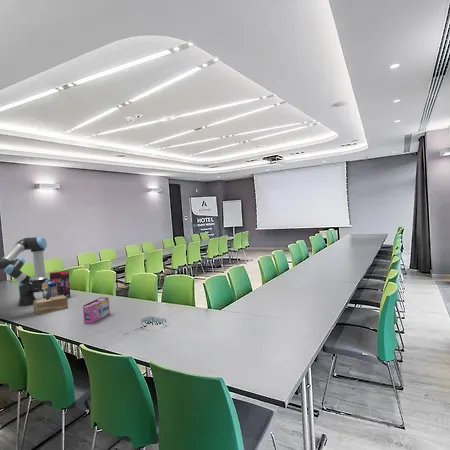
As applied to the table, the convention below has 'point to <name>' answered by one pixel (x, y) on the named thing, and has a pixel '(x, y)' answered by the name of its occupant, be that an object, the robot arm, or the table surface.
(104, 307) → the gum box
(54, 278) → the graphics card box
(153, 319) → the grey bumpy mound
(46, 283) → the beverage box
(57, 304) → the carton
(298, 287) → the table surface
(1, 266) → the robot arm
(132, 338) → the table surface
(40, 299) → the flap
